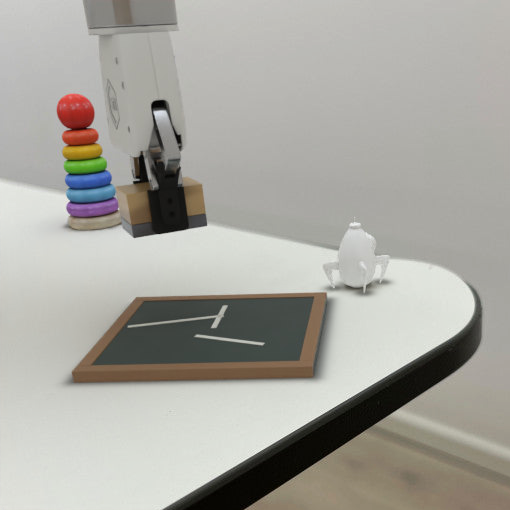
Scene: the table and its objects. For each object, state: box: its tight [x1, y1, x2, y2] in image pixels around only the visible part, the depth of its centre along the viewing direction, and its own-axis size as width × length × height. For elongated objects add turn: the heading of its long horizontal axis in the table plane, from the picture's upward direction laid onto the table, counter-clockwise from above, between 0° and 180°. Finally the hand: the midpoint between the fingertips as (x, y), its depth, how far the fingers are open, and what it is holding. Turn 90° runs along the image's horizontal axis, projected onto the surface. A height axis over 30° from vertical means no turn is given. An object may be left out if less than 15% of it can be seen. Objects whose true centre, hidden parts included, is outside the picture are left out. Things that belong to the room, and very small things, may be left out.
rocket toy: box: [322, 216, 391, 294], centre depth 82 cm, size 5×5×8 cm
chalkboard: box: [71, 291, 328, 383], centre depth 72 cm, size 20×18×1 cm
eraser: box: [114, 176, 208, 239], centre depth 72 cm, size 7×4×4 cm, turn 119°
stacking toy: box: [56, 93, 122, 231], centre depth 111 cm, size 8×8×19 cm
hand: (163, 223), depth 72 cm, fingers closed on eraser, 4 cm apart
